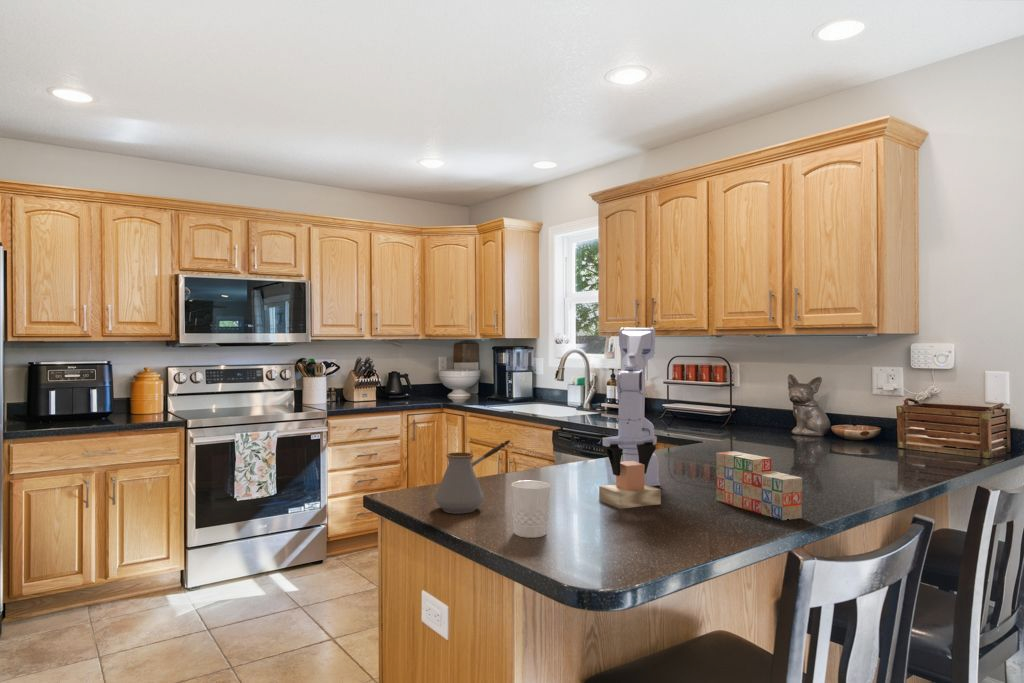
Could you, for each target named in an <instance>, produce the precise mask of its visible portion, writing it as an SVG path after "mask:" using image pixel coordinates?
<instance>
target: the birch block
mask: <svg viewBox="0 0 1024 683" xmlns="http://www.w3.org/2000/svg"><path fill="white" fill-rule="evenodd" d="M661 492H662V490H661V489H660V488H658V487H656V486H649V485H646V484H644V489H638V490H624V489H622V488H620V487H617V486H616V484H608V485H607V484H606V485H599V486H598V500H599V502H602V503H604V504H607V505H610V506H612V507H615V508H617V509H619V510H621V509H628V508H638V507H647V506H653V505H654V506H655V505H661V503H662V498H661V497H662V493H661Z"/></svg>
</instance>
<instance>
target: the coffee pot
mask: <svg viewBox="0 0 1024 683" xmlns="http://www.w3.org/2000/svg"><path fill="white" fill-rule="evenodd" d="M509 444H511V445H512V446H510V445H509ZM506 445H507V446H508V447H509V448H510V449H511V448H513V447H514V443H513V442H512V441H511V440H510V439H507V440H505V441H504V442H501V443H500V444H499V445H497V446H495V447H493V448H492V449H490V450H488V452H486V453H485V454H483V455H482V456H480V457H479V458H478V459H476V460H474V461H472V458H473V457H474V453H470V452H449V453H447V454H446V455H445V456H446V458H447V460H448V465H447V468H446V470H445V472H444V475H443V477H442V479H441V482H440V484H439V486H438V489H437V491H436V494H435V496H434V501H435V503H436V504H437V506H438V507H439V508H441V509H442V511H444V512H445V513H448V514H449V513H450V514H468V513H469V514H470V513H472V512H475V511H476V510H477V508H479V507H480V506H481V505H482V504H483V502H484V499H485V497H484V496H485V495H484V493H483V490H482V488H481V486H480V483H479V480H478V478H477V475H476V472H475V471H474V468H473V467H475V466H476V465H478V464H479V463H481V462H482V461H484V460H485V459H487V458H489V457H491V456H492V455H494V454H496V453H498V452H499V451H500V450H502V449H503V448H505V446H506Z"/></svg>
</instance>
